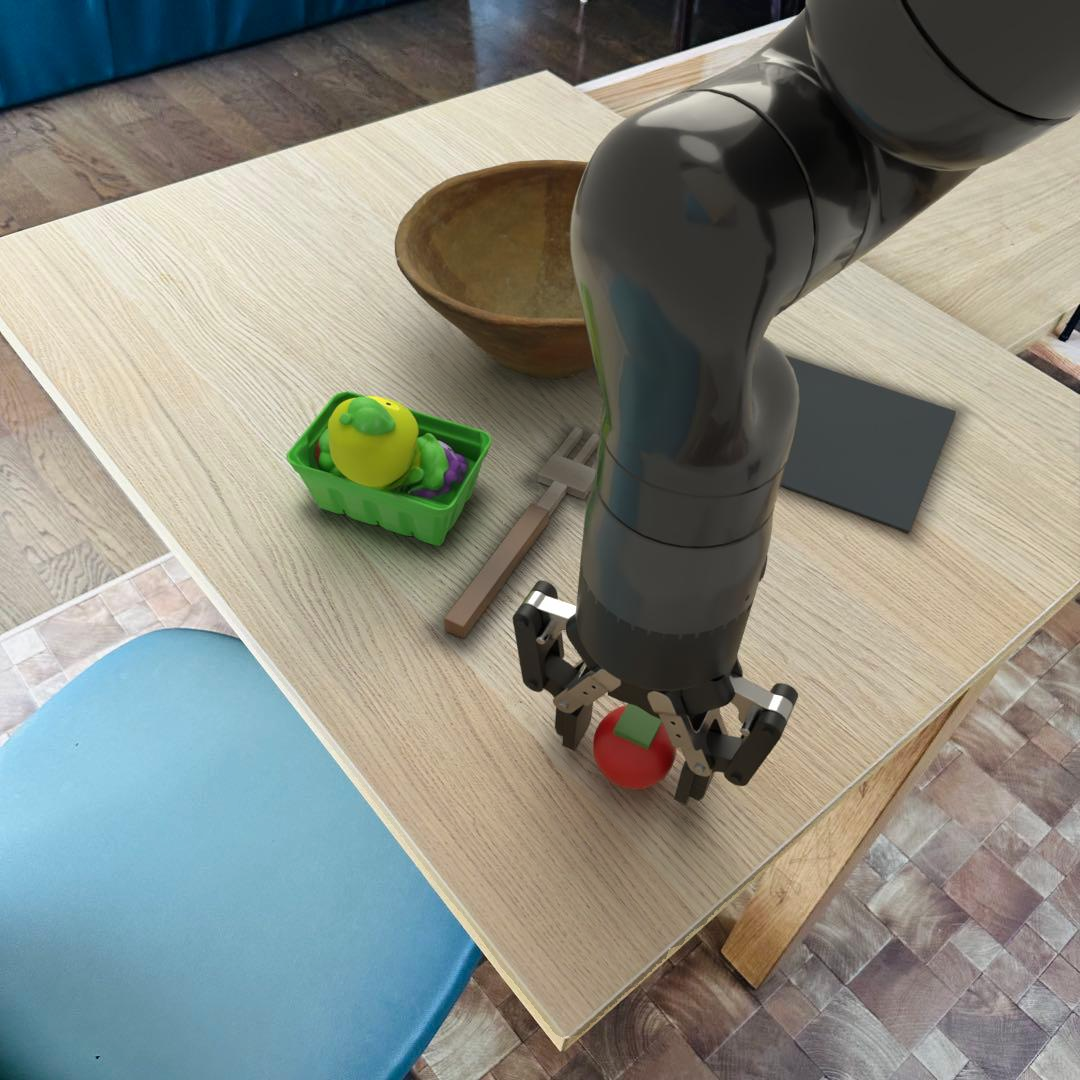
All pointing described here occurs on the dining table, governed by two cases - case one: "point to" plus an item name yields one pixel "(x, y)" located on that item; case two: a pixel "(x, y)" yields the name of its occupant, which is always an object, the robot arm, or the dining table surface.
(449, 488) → the fruit basket
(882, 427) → the placemat
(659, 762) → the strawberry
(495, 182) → the bowl
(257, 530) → the dining table surface
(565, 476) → the fork
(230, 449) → the dining table surface
